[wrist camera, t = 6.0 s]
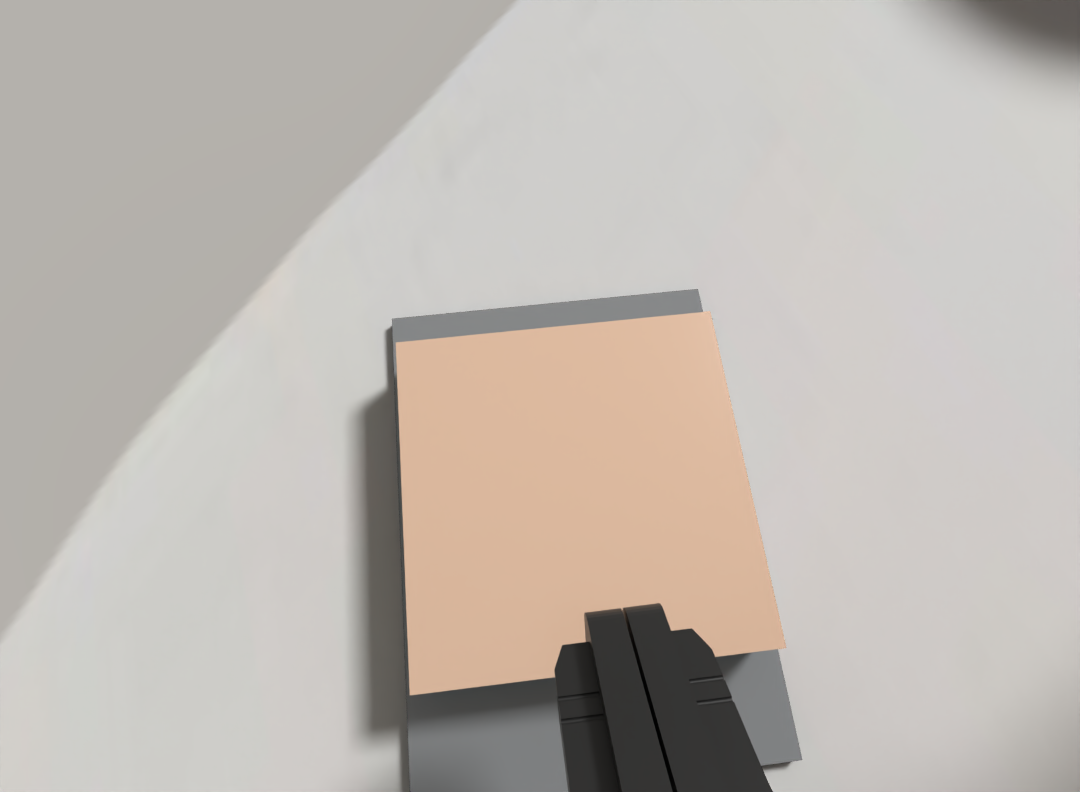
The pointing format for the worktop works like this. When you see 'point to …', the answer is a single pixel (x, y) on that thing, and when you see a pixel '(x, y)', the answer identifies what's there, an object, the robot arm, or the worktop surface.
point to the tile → (572, 496)
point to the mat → (531, 706)
